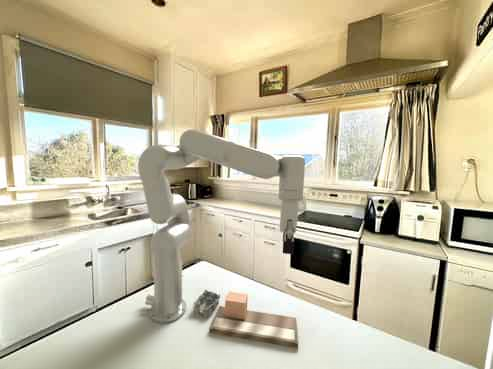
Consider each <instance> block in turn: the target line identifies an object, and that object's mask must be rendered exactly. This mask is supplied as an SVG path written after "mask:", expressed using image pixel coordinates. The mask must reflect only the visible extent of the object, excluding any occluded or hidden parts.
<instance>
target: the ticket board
mask: <svg viewBox="0 0 493 369" xmlns="http://www.w3.org/2000/svg"><path fill="white" fill-rule="evenodd" d="M208 329H209V330H208V332H209V334H214V335H220V336H221V335H222V336H227V337H232V338H238V339H244V340H248V341H255V342H260V343H266V344H273V345H278V346H284V347H287V348H288V347H289V348H296V349H299V338H298V337H299V334H298V325H297V317H294V316H293V317H292V316H287V315H281V314H274V313H267V312H261V311H254V310H248V309H247V312H246V316H245V320H244V319H238V318H232V317H225V306H220V305H219V306H218V308H217V310H216V313H215V315H214V317H213V319H212V321H211V324H210V326H209V328H208Z"/></svg>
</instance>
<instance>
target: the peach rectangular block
mask: <svg viewBox="0 0 493 369" xmlns="http://www.w3.org/2000/svg"><path fill="white" fill-rule="evenodd" d="M248 297H249V296H248V293H241V292H233V291H228V293H227V296H226V297H225V299H224V300H225V301H224V303H225V304H224V307H225V317H232V318H238V319H244V320H245V316H246V312H247V310H248V300H249V298H248Z"/></svg>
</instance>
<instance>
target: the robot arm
mask: <svg viewBox="0 0 493 369" xmlns="http://www.w3.org/2000/svg"><path fill="white" fill-rule="evenodd" d="M201 159H202V160H205V161H208V162H210V163H211V162H212V163H214V164H217V165H219V166H222V167H225V168H229V169H232V170H235V171H238V172H241V173H243V174H246V175H250V176H253V177H256V178H259V179H263V180H271V179H272V178H277V177H278V178H279V179H278V180H279V182H278V200H280V201H281V203H280V204H281V205H280V215H279V217H280V218H279V219H280V220H279V221H280V222H279V232H280V233H282V232H283V233H282V253H283V254H285V255H286V254H287V255H294V252H295V251H294V250H295V239H294V237H295V236H294V235H295V234H296V232H297V227H298V219H299V218H298V217H299V205H300V204H299V203H300V202H303V201H304V200H303V198H304V187H305V171H306V170H305V167H306V159H305V157H304V156H302V155H295V154H293V155H291V154H290V155H288V154H287V155H275V154H272V153H270V152H266V151H263V150H259V149H256V148H252V147H250V146H249V147H248V146H246V145H244V144H243V145H242V144H239V143H238V142H235V141H233V140H230V139H227V138H223V137H222V136H221V137H220V136H217V135H214V134H210V133H207V132H204V131H201V130H197V129H187V130H185V131H184V132H182V134H181V135H180V137H179V144H178V145H176V146H172V145H168V144H154V145H151V146H148V147H147V148H146V149H144V151H142V153H141V154H140V156H139V158H138V164H137V168H138V175H139V177H140V181H141V183H142V184H141V185H142V187H143V194H144V198H145V202H146V206H147V212H148V215H149V218H150V220H151V222H153V223H154V224H156V225H163V224H167V225H165V226H162V227H161V228H160V229H158V230H157V231H156V232H155V233H154V234H153V236H152V237H151V239H150V249H151V253H152V259H153V294H148V295H146V299H145V303H144V304H145V305H147V306H151V307H150V309H149V317H150V319H151V320H152V321H153V322H156V323H159V324H160V323H161V324H165V323H171V322H173V321H174V322H175V321H176V320H178V319H179V318H181V317H183V315H184V314H185V312H186V310H187V302H186V301H185V300H184V299H183V261H182V255H181V253H180V249H181V248H182V247H183V246H184V245H186V243H188V241H189V240H190V239H191V237H192V233H193V231H192V230H193V229H192V228H193V227H192V222H191V218H190V213H189V209H188V204H187V202H186V199H185V198H184V197H183V196H182V195H180V194H179V193H172V191H171V184H170V182H169V179H168V178H167V175H166V174H165V171H174V170H175V171H176V170H180V169H183V168H185V167H188V166H189V165H192V164H193V163H194V164H195V162H198V161H200V160H201Z"/></svg>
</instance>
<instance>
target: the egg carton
mask: <svg viewBox="0 0 493 369" xmlns="http://www.w3.org/2000/svg"><path fill="white" fill-rule="evenodd" d="M220 298H221V294H217V292H213V291H209V290H207V289H205V290H204V291H203V292H202V294H200V295H199V296H198V298H197V299H196V300H195V301H194V302H193V303H192V309H193V312H194V313H195V315H196V316H199V315H203V318H208V317H211V316H212V313H213V311H214V310H216V306H217V305H219V304H220ZM203 304H205V306H207V307H204V308H201V305H203Z"/></svg>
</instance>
